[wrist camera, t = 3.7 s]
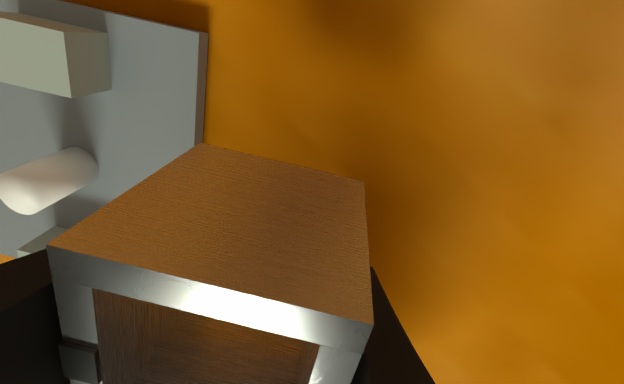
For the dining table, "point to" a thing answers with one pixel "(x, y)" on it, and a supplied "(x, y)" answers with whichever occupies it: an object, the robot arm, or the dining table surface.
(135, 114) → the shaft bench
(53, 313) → the robot arm
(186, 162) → the box
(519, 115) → the dining table surface
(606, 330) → the dining table surface
